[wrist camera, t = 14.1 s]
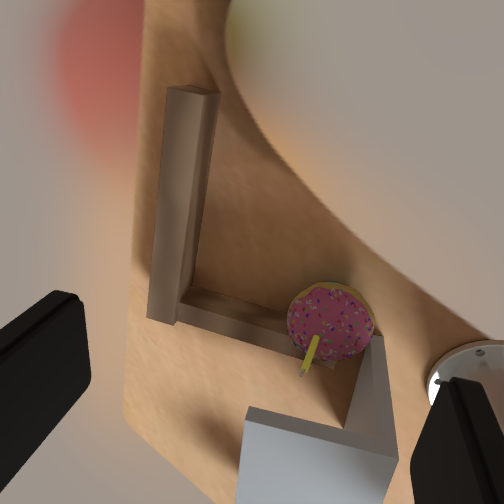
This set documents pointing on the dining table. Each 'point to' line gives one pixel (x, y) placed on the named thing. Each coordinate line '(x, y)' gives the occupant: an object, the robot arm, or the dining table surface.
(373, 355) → the shelf
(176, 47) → the dining table surface
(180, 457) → the dining table surface
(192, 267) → the wooden corner bracket
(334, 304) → the cupcake
